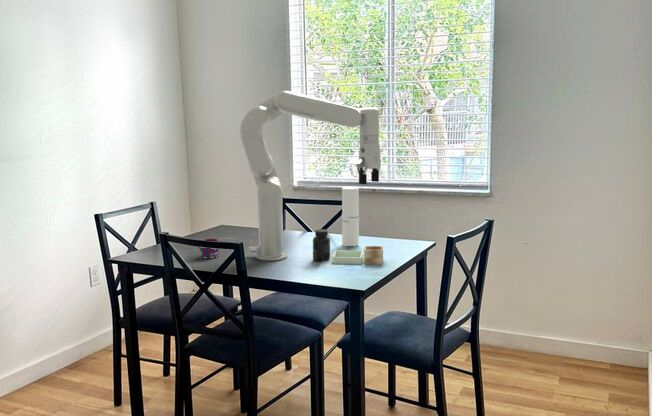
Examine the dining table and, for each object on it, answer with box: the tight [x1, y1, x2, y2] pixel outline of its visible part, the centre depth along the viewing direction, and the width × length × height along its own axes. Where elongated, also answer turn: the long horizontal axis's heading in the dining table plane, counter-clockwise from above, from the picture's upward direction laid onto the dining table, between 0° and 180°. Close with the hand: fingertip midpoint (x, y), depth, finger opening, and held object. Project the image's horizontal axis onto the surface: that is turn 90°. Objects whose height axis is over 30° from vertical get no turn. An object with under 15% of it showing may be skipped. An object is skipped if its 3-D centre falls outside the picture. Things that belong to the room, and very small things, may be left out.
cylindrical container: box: [341, 186, 360, 247], centre depth 264 cm, size 7×7×25 cm
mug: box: [198, 238, 220, 258], centre depth 247 cm, size 7×10×7 cm
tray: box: [332, 249, 364, 265], centre depth 237 cm, size 11×11×3 cm
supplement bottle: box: [312, 228, 331, 263], centre depth 239 cm, size 7×7×12 cm
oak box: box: [363, 245, 384, 265], centre depth 234 cm, size 7×7×6 cm
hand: (369, 182), depth 244 cm, fingers open, 9 cm apart
